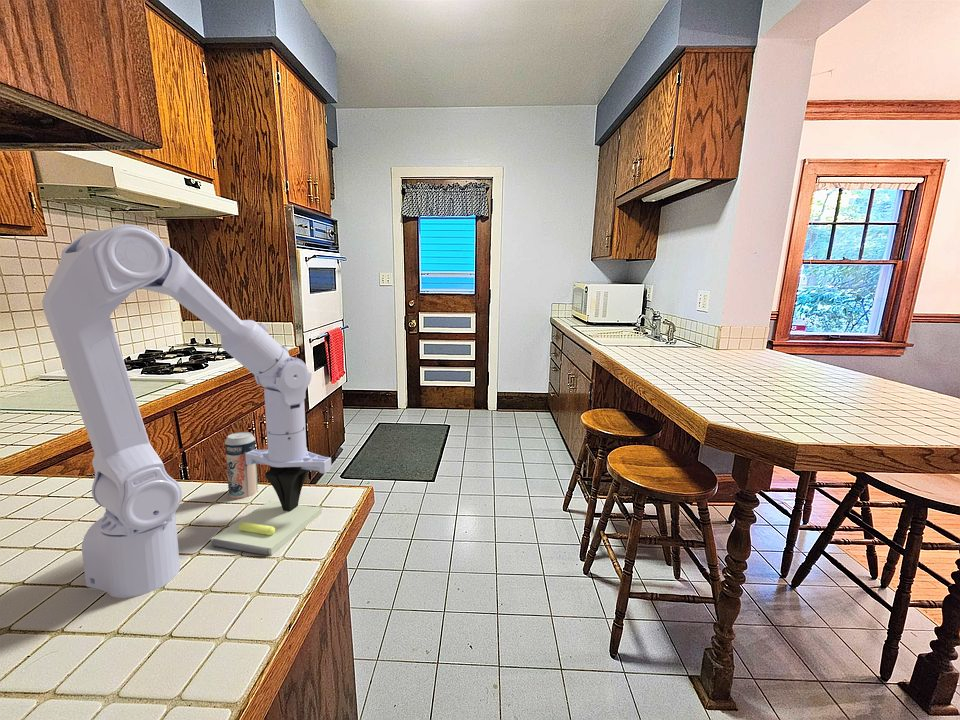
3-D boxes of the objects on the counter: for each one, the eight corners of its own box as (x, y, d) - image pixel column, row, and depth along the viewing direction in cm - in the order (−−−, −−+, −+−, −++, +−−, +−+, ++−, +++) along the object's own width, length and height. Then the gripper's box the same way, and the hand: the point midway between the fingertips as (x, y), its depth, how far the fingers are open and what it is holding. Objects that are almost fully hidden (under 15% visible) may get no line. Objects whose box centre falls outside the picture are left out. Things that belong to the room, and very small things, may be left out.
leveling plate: (208, 546, 60) (207, 532, 60) (269, 506, 72) (269, 494, 72) (269, 557, 58) (268, 542, 58) (321, 513, 70) (321, 501, 70)
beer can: (222, 501, 75) (217, 437, 74) (245, 490, 80) (242, 429, 78) (241, 506, 74) (237, 441, 72) (264, 495, 78) (261, 433, 76)
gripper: (340, 425, 70) (343, 502, 72) (265, 419, 73) (269, 492, 75) (315, 439, 63) (318, 523, 65) (233, 431, 66) (239, 511, 68)
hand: (290, 508), depth 70 cm, fingers closed, pressing on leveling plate
